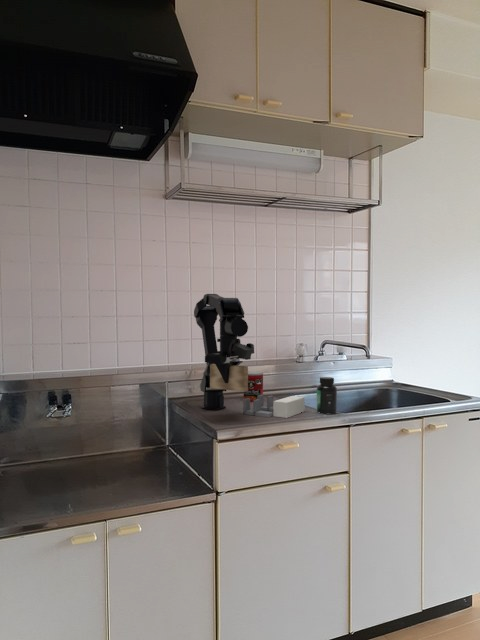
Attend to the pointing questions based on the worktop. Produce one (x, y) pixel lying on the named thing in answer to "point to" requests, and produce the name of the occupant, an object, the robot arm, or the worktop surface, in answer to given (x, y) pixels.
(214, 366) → the door panel
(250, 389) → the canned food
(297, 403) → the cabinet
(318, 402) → the supplement bottle
